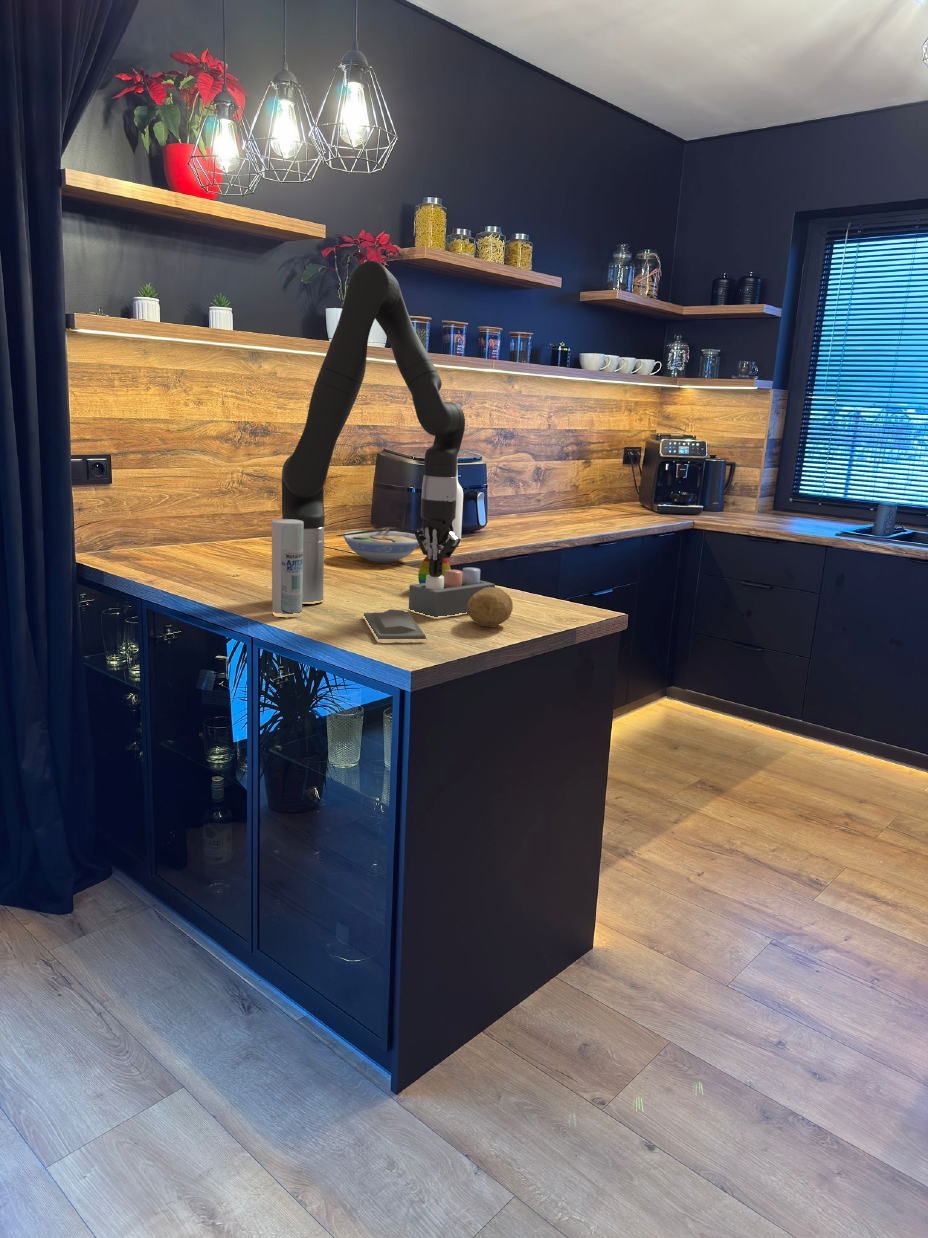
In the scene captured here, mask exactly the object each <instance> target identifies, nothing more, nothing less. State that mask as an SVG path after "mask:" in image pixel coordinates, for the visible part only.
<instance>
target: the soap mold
mask: <svg viewBox="0 0 928 1238" xmlns="http://www.w3.org/2000/svg"><path fill="white" fill-rule="evenodd" d="M363 616H365V618H366V620H367V621H368V623H369V625H370V626H371V628H372V629H373V631H374V633H375V634H376V636H377V637H378V639H426V640H427V637H426V634H425V633H424V632H423V630H422V629H421V627H420V626H419V625H418V623H417V621H415V620H414V618H413V617H412V616H411V614H410V612H409V611H404V610H402V609H388V610H386V611H383V612H364V613H363Z"/></svg>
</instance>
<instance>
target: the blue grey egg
mask: <svg viewBox="0 0 928 1238" xmlns="http://www.w3.org/2000/svg"><path fill="white" fill-rule="evenodd" d="M462 572H463V575H462V583H465V584H469V585H473V584H479V583H480V580H481V569H480V568H478V567H463V568H462Z"/></svg>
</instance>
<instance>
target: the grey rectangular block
mask: <svg viewBox="0 0 928 1238" xmlns="http://www.w3.org/2000/svg"><path fill="white" fill-rule="evenodd" d="M487 587H495V588H496V583H492V582H489V581H484V580H481V579H480V583H479V584H473V585H469V584H465V583H462V586H459V587H449V586H445V585H444V589H438V590H432V589H428V588H426V583H421V584H419V583H413V584H409V592H408V593H409V594H408V610H409V609H410V610H414V611H415V612H419V613H423V614H425V615H430V616H434V617H438V616H447V615H455V614H459V613H466V612H467V608H466V605H467V603H468V601H469V599H470V598H471V597H472V596H473V595H474V594H475V593H477V592H478V591H480V590H482V589H484V588H487Z"/></svg>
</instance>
